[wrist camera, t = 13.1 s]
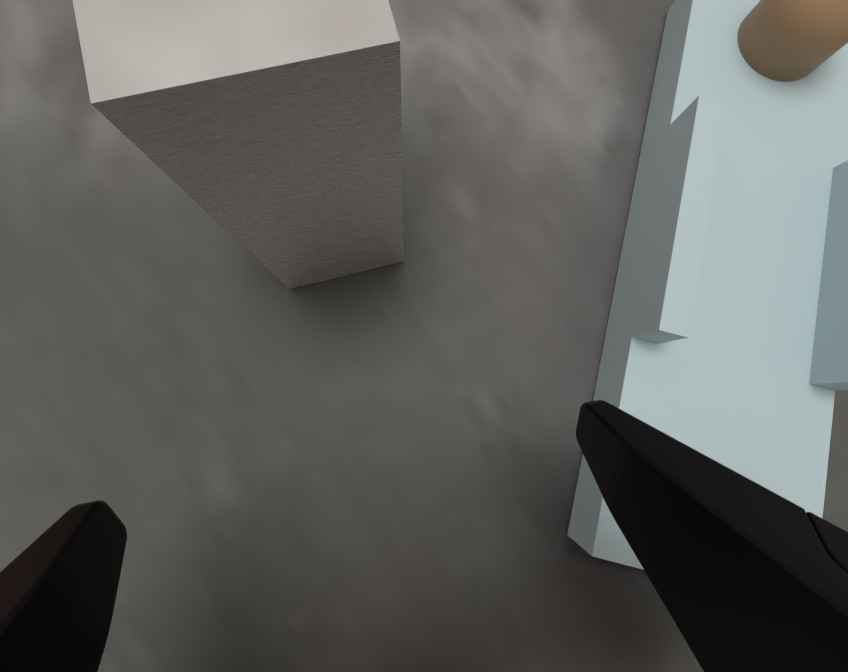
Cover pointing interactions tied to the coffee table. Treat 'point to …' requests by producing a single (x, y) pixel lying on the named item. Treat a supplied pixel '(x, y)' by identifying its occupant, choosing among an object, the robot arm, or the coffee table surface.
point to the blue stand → (735, 252)
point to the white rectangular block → (264, 119)
